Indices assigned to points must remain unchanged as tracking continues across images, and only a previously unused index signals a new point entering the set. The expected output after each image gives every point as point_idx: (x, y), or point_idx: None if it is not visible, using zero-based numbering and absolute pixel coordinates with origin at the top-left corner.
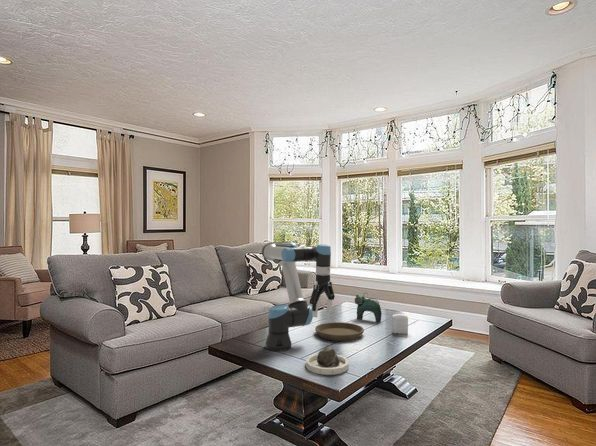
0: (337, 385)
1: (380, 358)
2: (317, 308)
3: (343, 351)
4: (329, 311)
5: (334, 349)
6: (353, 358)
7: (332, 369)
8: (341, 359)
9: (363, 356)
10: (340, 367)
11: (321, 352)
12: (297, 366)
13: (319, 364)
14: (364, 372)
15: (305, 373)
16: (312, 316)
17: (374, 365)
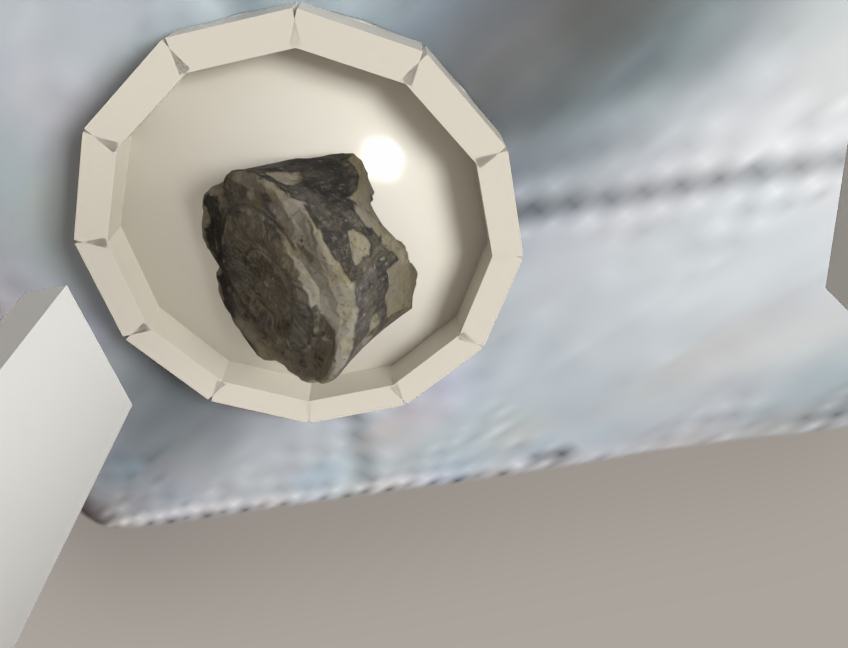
0: (140, 486)
1: (794, 384)
2: (16, 623)
3: (777, 39)
4: (838, 245)
5: (342, 366)
6: (649, 248)
7: (213, 394)
8: (482, 261)
9: (756, 273)
10: (289, 415)
11: (270, 212)
12: (37, 26)
13: (202, 233)
14: (451, 465)
15: (29, 215)
16: (25, 302)
17: (620, 435)
